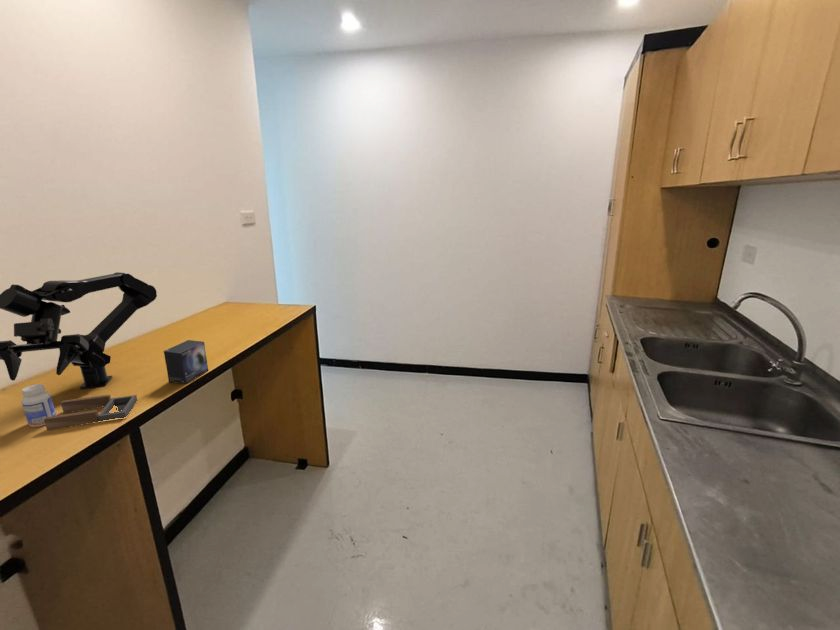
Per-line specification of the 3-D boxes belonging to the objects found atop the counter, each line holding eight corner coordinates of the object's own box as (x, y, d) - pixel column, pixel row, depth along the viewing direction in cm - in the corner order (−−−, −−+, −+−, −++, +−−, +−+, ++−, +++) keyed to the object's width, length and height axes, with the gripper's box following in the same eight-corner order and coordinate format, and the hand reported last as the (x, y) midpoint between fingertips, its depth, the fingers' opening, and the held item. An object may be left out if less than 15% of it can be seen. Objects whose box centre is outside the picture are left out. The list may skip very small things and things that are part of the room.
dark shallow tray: (113, 404, 111) (111, 398, 111) (137, 400, 113) (136, 394, 113) (99, 422, 102) (97, 416, 102) (126, 418, 104) (124, 412, 104)
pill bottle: (45, 415, 106) (35, 381, 103) (62, 417, 105) (53, 383, 102) (22, 426, 100) (11, 391, 98) (41, 428, 100) (30, 393, 97)
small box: (186, 384, 123) (180, 352, 120) (167, 382, 124) (161, 351, 121) (209, 370, 133) (205, 340, 130) (192, 368, 134) (187, 339, 131)
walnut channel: (65, 410, 108) (62, 400, 107) (112, 404, 111) (109, 394, 110) (47, 430, 99) (43, 419, 98) (98, 422, 102) (95, 412, 101)
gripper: (-20, 311, 98) (-36, 370, 91) (73, 304, 104) (65, 359, 98) (8, 332, 108) (-5, 387, 101) (92, 324, 114) (86, 376, 107)
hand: (35, 377), depth 101 cm, fingers open, 9 cm apart
